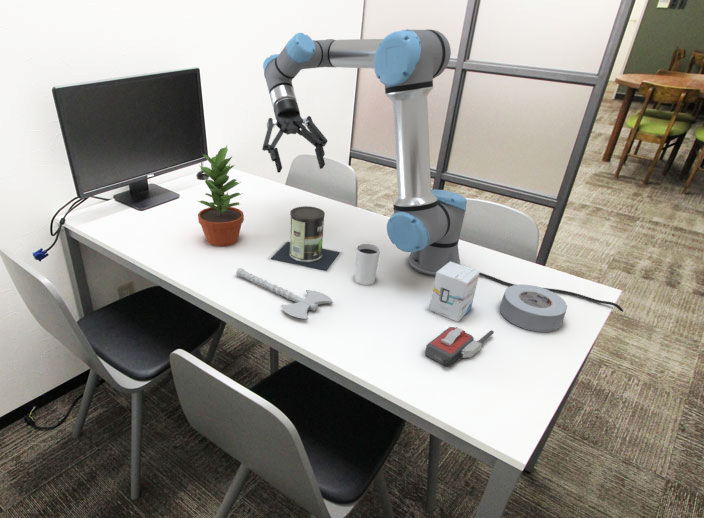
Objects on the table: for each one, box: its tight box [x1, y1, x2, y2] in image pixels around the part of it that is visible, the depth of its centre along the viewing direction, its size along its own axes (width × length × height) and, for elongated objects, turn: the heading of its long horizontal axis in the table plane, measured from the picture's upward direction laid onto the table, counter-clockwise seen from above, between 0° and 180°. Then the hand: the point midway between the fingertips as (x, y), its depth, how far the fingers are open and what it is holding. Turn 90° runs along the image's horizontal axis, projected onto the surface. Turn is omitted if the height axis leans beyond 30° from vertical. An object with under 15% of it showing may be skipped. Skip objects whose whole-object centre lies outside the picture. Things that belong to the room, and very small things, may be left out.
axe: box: [235, 267, 334, 320], centre depth 135 cm, size 30×14×2 cm, turn 50°
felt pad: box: [270, 241, 341, 272], centre depth 155 cm, size 18×13×1 cm
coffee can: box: [289, 205, 326, 262], centre depth 152 cm, size 10×10×14 cm
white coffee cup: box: [354, 243, 381, 286], centre depth 141 cm, size 7×7×10 cm
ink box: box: [428, 261, 481, 323], centre depth 129 cm, size 9×8×12 cm
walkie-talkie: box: [424, 326, 495, 367], centre depth 117 cm, size 9×4×20 cm
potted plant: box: [197, 145, 245, 247], centre depth 155 cm, size 15×15×30 cm
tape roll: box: [499, 284, 568, 333], centre depth 129 cm, size 15×15×5 cm
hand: (301, 168), depth 147 cm, fingers open, 13 cm apart
